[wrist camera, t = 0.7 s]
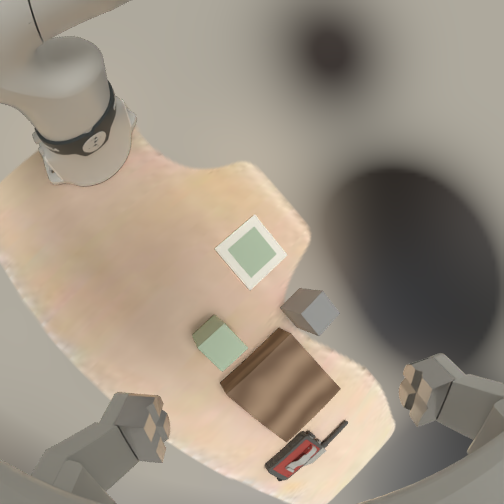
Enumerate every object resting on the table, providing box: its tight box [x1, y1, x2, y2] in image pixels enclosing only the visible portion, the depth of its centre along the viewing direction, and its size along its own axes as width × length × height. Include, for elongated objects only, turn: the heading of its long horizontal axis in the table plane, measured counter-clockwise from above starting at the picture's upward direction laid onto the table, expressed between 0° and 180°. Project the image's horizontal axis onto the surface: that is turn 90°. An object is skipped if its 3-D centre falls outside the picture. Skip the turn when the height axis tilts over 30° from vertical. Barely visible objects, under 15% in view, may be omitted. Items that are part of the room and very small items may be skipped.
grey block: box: [280, 288, 340, 336], centre depth 45 cm, size 5×5×8 cm
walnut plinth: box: [220, 328, 341, 442], centre depth 44 cm, size 16×14×5 cm
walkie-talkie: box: [265, 421, 348, 481], centre depth 46 cm, size 9×4×20 cm
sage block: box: [192, 315, 248, 372], centre depth 40 cm, size 5×5×8 cm
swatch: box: [215, 215, 287, 290], centre depth 47 cm, size 9×9×1 cm
